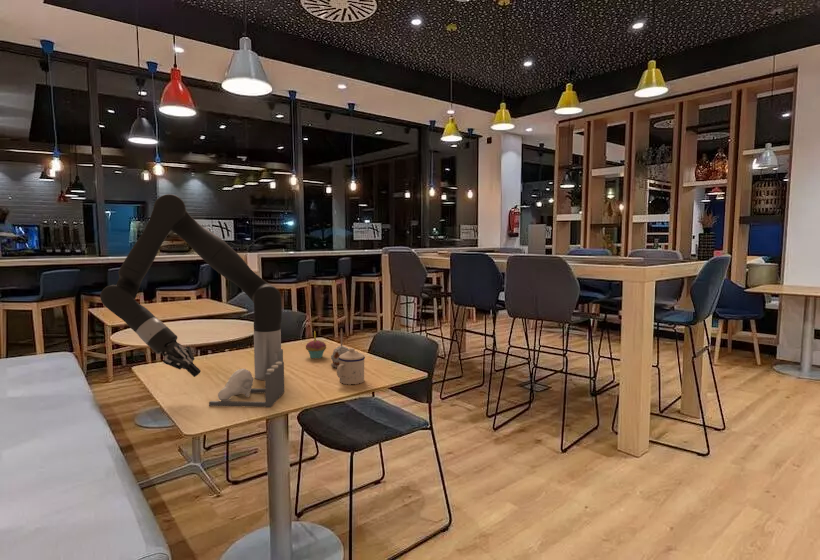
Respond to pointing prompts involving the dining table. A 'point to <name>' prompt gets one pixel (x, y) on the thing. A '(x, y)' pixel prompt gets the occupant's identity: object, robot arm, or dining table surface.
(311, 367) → the dining table surface
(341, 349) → the decorative ornament
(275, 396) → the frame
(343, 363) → the teacup with lid
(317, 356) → the cupcake
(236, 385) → the cream figurine
